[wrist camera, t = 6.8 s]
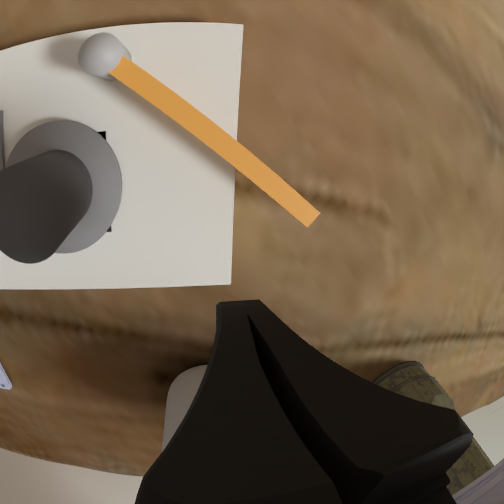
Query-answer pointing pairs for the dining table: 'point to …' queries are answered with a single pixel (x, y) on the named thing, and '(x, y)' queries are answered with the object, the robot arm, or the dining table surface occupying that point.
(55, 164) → the plug
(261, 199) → the dining table surface
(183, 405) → the cup
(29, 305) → the dining table surface
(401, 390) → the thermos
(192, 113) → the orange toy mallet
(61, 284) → the socket board
